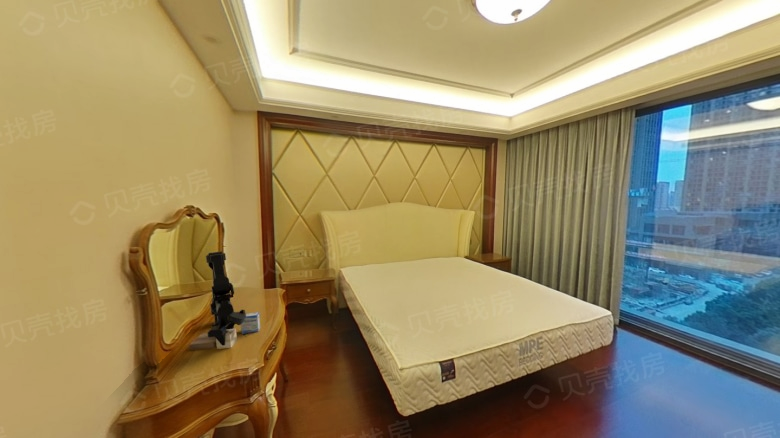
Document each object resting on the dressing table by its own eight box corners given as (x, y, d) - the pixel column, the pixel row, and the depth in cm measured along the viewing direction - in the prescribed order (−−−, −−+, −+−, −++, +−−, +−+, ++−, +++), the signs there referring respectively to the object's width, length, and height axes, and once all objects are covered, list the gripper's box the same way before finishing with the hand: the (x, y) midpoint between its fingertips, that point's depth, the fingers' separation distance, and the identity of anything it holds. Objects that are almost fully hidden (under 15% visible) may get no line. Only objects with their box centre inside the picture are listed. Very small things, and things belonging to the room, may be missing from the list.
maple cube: (223, 341, 130) (222, 329, 130) (236, 340, 131) (235, 328, 130) (217, 348, 125) (215, 336, 124) (231, 347, 125) (229, 335, 124)
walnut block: (202, 339, 134) (202, 333, 134) (224, 337, 135) (223, 331, 135) (190, 350, 124) (189, 344, 124) (213, 348, 125) (213, 342, 125)
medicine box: (241, 334, 137) (239, 317, 136) (243, 330, 141) (242, 313, 140) (258, 331, 139) (257, 315, 138) (260, 327, 143) (259, 311, 143)
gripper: (232, 316, 118) (236, 351, 119) (250, 299, 136) (253, 330, 138) (205, 318, 117) (208, 353, 118) (226, 301, 135) (229, 331, 137)
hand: (226, 341), depth 128 cm, fingers closed on maple cube, 6 cm apart
